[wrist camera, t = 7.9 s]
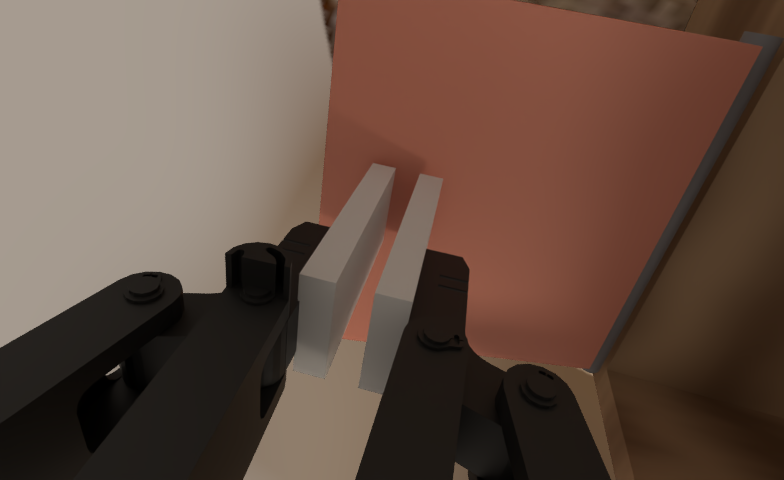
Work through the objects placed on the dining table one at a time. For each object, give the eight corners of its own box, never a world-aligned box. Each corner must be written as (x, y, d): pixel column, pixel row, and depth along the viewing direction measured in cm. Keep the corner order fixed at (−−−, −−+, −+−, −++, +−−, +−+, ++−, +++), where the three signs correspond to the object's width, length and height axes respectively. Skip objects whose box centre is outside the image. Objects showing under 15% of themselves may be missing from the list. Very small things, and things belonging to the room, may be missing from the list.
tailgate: (795, 40, 13) (342, -45, 12) (604, 375, 20) (308, 340, 19) (754, 32, 14) (347, -43, 13) (589, 348, 21) (315, 313, 20)
